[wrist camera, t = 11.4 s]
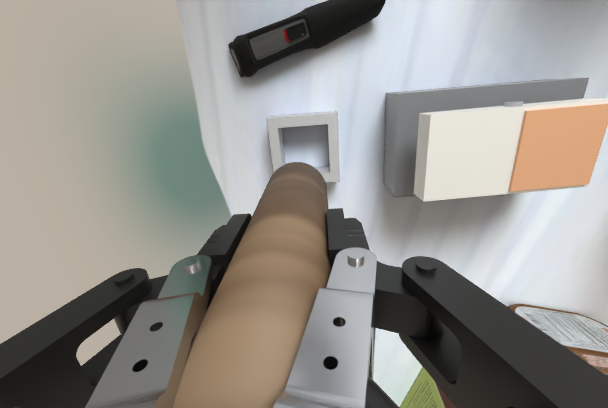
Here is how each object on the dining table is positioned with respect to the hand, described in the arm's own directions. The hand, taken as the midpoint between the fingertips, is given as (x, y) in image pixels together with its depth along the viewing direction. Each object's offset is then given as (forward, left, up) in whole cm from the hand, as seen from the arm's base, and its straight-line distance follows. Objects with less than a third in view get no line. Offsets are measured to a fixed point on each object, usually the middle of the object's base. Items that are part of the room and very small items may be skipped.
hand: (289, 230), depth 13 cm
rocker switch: (0, +17, -13) cm, 21 cm away
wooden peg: (0, 0, -5) cm, 5 cm away
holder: (0, 0, -21) cm, 21 cm away
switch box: (0, +17, -21) cm, 27 cm away
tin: (+26, +32, -21) cm, 46 cm away
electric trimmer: (-11, 0, -22) cm, 24 cm away
